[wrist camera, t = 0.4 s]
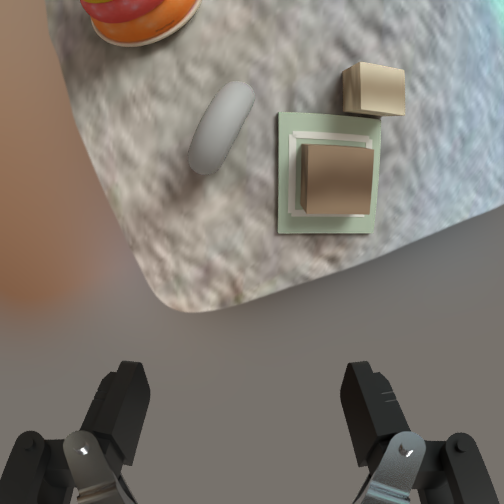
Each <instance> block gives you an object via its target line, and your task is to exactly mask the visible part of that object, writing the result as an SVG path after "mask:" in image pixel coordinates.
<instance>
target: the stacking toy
mask: <svg viewBox="0 0 504 504" xmlns="http://www.w3.org/2000/svg"><path fill="white" fill-rule="evenodd" d="M80 2H81V4H82V6H83V8H84V9H85V11H86V12H87V13H88V14H89V15H90V16H91V23H92V26H93V28H94V30H95V32H96V33H97V34H98V35H99V37H101V38H102V39H103V40H104V41H106V42H108V43H110V44H113V45H117V46H122V47H138V46H144V45H148V44H151V43H154V42H157V41H160V40H162V39H164V38H166V37H168V36H170V35H171V34H173V33H174V32H176V31H177V30H179V29H180V28H181V27H182V26H184V25H185V24H186V23H187V22H188V21H189V20H190V19H191V18H192V16H193V15H194V14H195V13H196V11H197V10H198V8H199V6H200V4H201V2H202V0H80Z"/></svg>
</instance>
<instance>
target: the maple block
mask: <svg viewBox="0 0 504 504" xmlns="http://www.w3.org/2000/svg"><path fill="white" fill-rule="evenodd" d="M343 112H349V113H359V114H368V115H375V116H405V76H404V70H401V69H397V68H392V67H387V66H382V65H376V64H371V63H365V62H359V63H357V64H355V65H353V66H351V67H350V68H348V69H346V70H344V71H343Z"/></svg>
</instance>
